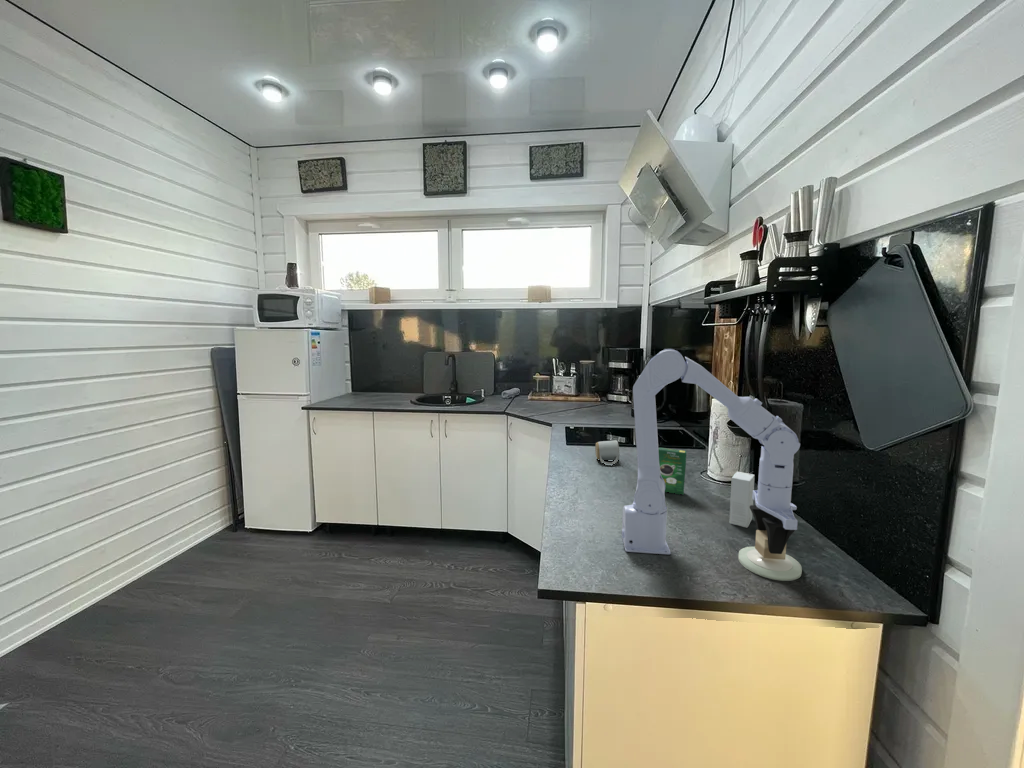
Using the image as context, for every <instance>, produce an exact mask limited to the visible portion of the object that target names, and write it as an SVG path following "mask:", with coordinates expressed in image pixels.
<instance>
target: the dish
mask: <svg viewBox="0 0 1024 768" xmlns="http://www.w3.org/2000/svg"><path fill="white" fill-rule="evenodd" d="M737 557H738V561H739V563H740V564H741V566H742V567H744V568H745V569H746V570H748V571H750V572H751V573H753V574H754V575H757V576H760V577H763V578H766V579H769V580H773V581H774V580H775V581H781V582H788V581H790V582H791V581H796V580H798V579H799V578H800V577H801V576H802V572H803V568H802V565H801V563H800V562H799V561H797V559H795V558H794V557H792V556H791V555H789V554H787V553H786V557H785V560H783V559H768V558H763V557H762V556H761V554H760V553H759V552H758V551H757V550H756V549H755V545H754V546H746V547H743V548H741V549H739V551H738V556H737Z"/></svg>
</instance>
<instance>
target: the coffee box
mask: <svg viewBox="0 0 1024 768" xmlns="http://www.w3.org/2000/svg"><path fill="white" fill-rule="evenodd" d="M658 450H659V464H660V473H661V476H662V478H663V479H664V481H665V485H666V488H665V493H667V492H669V493H668V494H674V493H675V495H680V494H682V496H684V495H685V494H684V493H685V480H686V469H687V468H686V466H687V453H688V452H687V450H683V449H682V450H681V449H675V448H666V447H659V446H658Z"/></svg>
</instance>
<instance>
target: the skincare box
mask: <svg viewBox="0 0 1024 768" xmlns="http://www.w3.org/2000/svg"><path fill="white" fill-rule="evenodd" d="M755 477H756V476H755V474H753V473H748V472H743V471H742V472H741V471H736V472H735V473H734V474H733V476H732V477H731V483H730V484H731V485H730V501H729V520H728V521H729V522H728V523H729V524H730V525H735V526H739V527H743V528H748V527H749V526H750V523H751V522H752V520H753V514H752V511H751V510H750V505H754V500H753V499H752V494H753V490H755Z"/></svg>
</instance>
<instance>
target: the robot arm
mask: <svg viewBox="0 0 1024 768" xmlns="http://www.w3.org/2000/svg"><path fill="white" fill-rule="evenodd" d="M679 379H681V383H685V384H694V385H697V386H698V387H699V388H701V389H702V390H703V391H705V392H706V393H707V394H709V395H710V396H712V398H714V399H715V400H716V401H718V402H719V403H720V404H722V406H724V407H726V408H727V417H728V418H729V420H731V421H732V422H734V424H736V425H737V426H739V428H740V429H742V430H743V431H744V432H745V433H747V434H748V435H749V436H751V437H752V438H753V439H755V440H758V442H759V443H760V444H761V446H760V447H761V448H760V457H759V464H758V465H759V466H758V481H757V489H756V490H755V489H754V490H753V494H752V499H753V501H754V502H755V503H754V504H755V505H754V504H753V505H750V510H751V511H752V517H753V519H754V522H755V526H756V530H766V531H767V536H768V548H769V552H770V553H772V554H782V552H783V550H784V547H785V545H786V546H787V544H786V543H788V541H789V539H790V537H791V536H792V534H794V532H795V531H797V530H798V528H799V527H798V526H799V525H798V522H799V521H798V519H797V518H796V517H795V515H794V512H793V511H796V510H797V508H798V507H797V505H796V504H794V503H792V502H791V501H792V489H793V478H794V459H795V454H796V453H797V452H798V451H799V449H800V447H801V443H800V442H799V438H798V435H797V434H796V432H794V431H793V430H792V429H791V428H790V427H789V426H788V425H786V424H785V423H784V422H783V419H782V418H781V417H779V415H776V416H775V415H774V414H772V413H771V412H770V411H768V410H767V409H766V408H765V407H763V406H762V405H763V402H762V401H760V400H759V399H758V398H754V399H753V398H752V397H751V396H738V395H737V394H736V393H735V392H734V391H732V390H731V389H730V388H728V387H727V386H726V385H725V384H724V383H722V381H720V380H719V379H718V378H717V377H715V375H714V374H712V373H711V372H710V371H708V370H707V369H706V368H705V367H704V366H702V365H701V364H699V363H697V362H696V361H695V360H693V359H690V358H689V357H688V356H684V357H683V355H682V353H681V352H679V351H678V350H675V349H673V348H664V349H663V350H661V351H659V352H658V353H657V354H655V355H654V356H653V357H651V358H650V359H649V361H648V362H647V364H646V365H645V367H644V369H643V370H642V372H641V373H640V375H639V376H638V377H637V380H636V381H635V383H634V384H633V386H632V396H633V397H632V398H633V413H634V414H633V415H634V427H635V428H634V430H635V442H636V445H635V446H636V455H637V457H636V458H637V481H636V488H635V492H634V495H633V502H632V504H628V505H627V504H626V505H623V506H622V514H621V515H622V524H621V527H622V528H621V538H622V542H623V543H622V544H623V547H624V551H625V552H627V553H628V552H629V553H639V554H640V553H641V554H655V555H656V554H657V555H658V554H659V555H668V556H669V555H671V554H672V553H671V549H670V547H669V545H668V542H667V541H666V540H667V521H668V520H667V515H668V506H667V505H666V496H665V494H666V492H665V488H666V485H665V481H664V479H663V478H662V476H661V473H660V464H659V437H658V422H657V405H656V404H657V403H656V395H657V394H658V393H659V392H660V391H661V390H662V389H663V388H665V386H667V385H668V384H671V383H673V382H676V381H677V380H679Z"/></svg>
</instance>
